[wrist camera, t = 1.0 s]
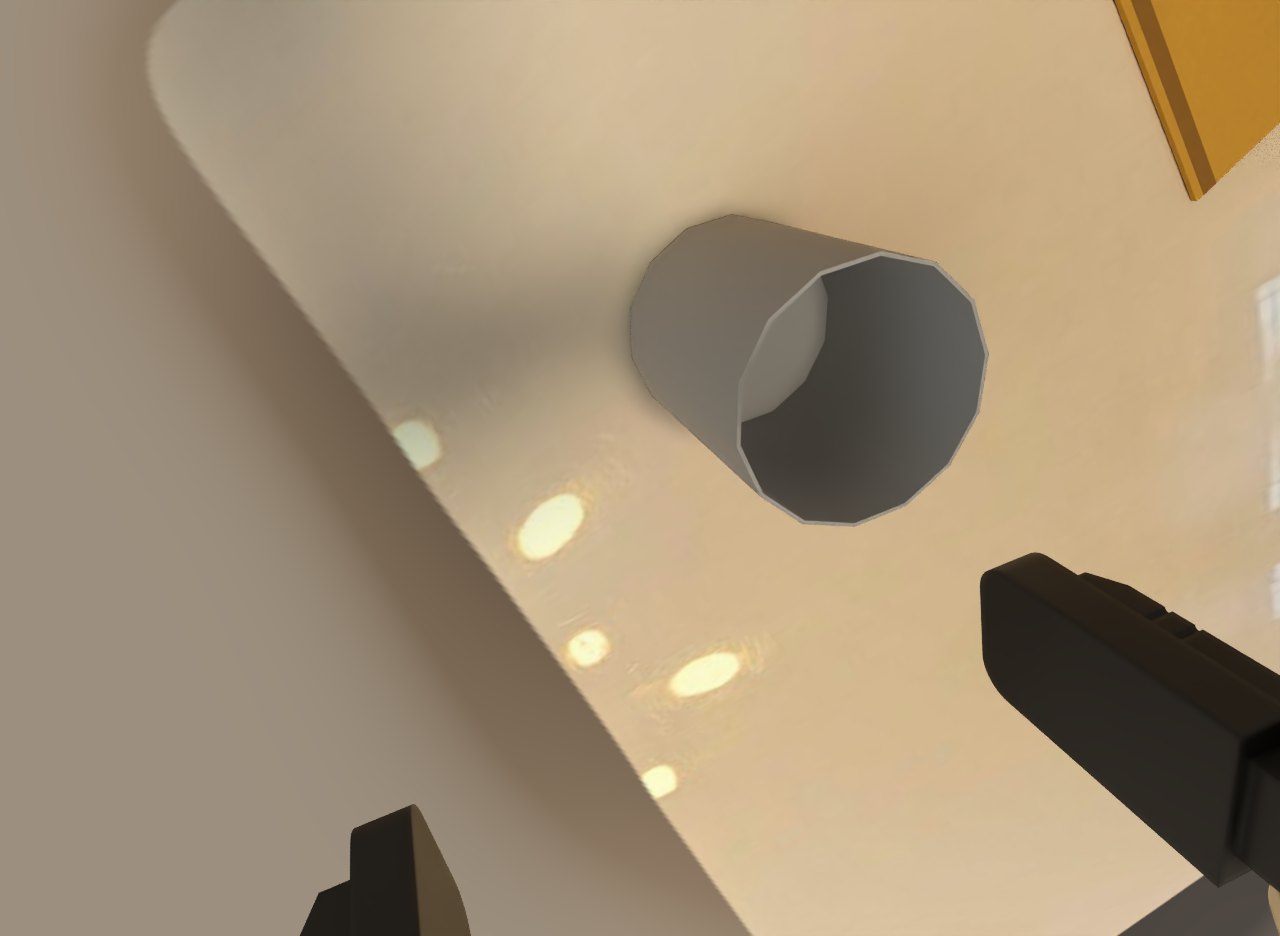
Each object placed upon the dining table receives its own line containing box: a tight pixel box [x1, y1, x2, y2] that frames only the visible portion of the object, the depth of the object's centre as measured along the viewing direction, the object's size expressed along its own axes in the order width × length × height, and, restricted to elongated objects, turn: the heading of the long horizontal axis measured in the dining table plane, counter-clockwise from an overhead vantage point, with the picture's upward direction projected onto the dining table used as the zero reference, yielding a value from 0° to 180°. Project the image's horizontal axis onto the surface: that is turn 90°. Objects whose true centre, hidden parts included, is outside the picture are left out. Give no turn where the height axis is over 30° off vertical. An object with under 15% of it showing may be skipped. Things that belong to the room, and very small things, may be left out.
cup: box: [631, 214, 989, 527], centre depth 28 cm, size 8×8×10 cm
